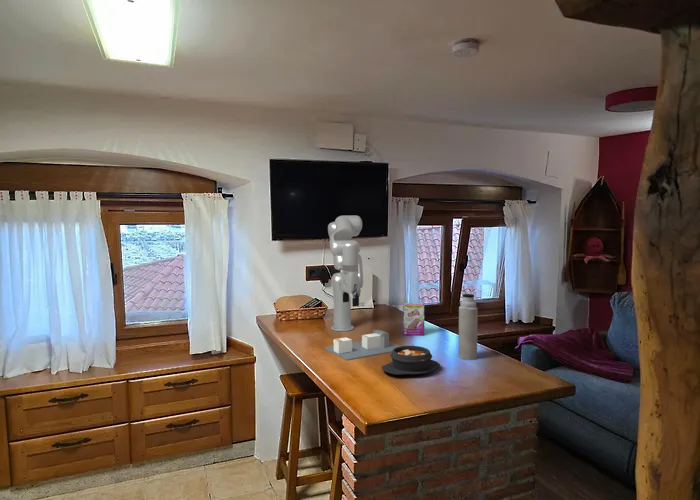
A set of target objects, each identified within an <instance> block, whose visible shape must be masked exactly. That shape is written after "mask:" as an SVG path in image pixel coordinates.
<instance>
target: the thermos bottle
mask: <svg viewBox="0 0 700 500" xmlns="http://www.w3.org/2000/svg"><path fill="white" fill-rule="evenodd" d="M474 297H475V295H474V294H472V293H471V294H470V293H464V294H462V300H461V301H460V303H459V304H460V306H459V307H458V358H460V359H461V360H467V361H468V360H469V361H472V360H473V361H474V360H477V359H478V325H479V323H478V321H479V320H478V319H479V318H478V314H479V313H478V307H477V302H476V301H475V298H474Z"/></svg>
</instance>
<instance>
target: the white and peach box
mask: <svg viewBox="0 0 700 500" xmlns="http://www.w3.org/2000/svg"><path fill="white" fill-rule="evenodd" d="M352 343H353V339H352V338H350V337H347V336H345V337H340V338H334V339H333V346H334V352H336V353H338V354H341V353H346V352H352Z"/></svg>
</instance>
